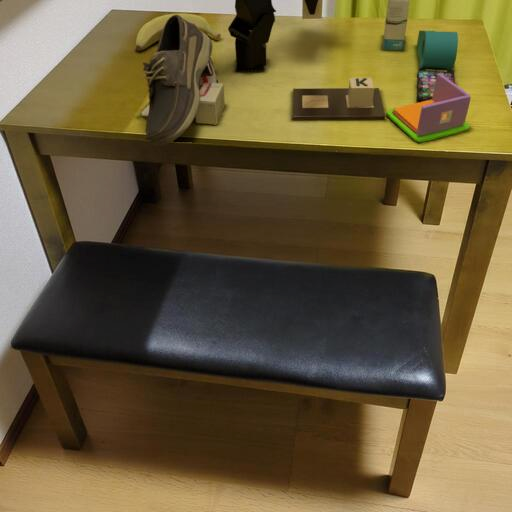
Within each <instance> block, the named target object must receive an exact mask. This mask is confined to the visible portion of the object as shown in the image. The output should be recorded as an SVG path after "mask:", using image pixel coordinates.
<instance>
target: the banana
mask: <svg viewBox="0 0 512 512" xmlns="http://www.w3.org/2000/svg"><path fill="white" fill-rule="evenodd" d="M173 15H179V16H181V17H182V18H183V19H184V20H186V21H187V22H190V23H193V24H195V25H196V27H197V28H198V29H199V30H200V31H201V32H203V33H205V34H206V35H209V36H210V37H212V38H214V40H215V41H219V40H220V39H221V33H219V32H216V31H213V29H212V28H211V26H210V24H209V22H208V20H207V19H206V18H204V17H202V16H200V15H198V14H195V13H194V14H193V13H181V12H180V13H168V14H164V15H161V16H157V17H155V18H152V19H151V20H149V21H147V22H146V23H145V24H144V25H143V26H141V28H140V30H139V31H138V32H137V35H136V38H135V48H136V50H137V51H144V50H146V49H147V48H149V47H150V46H152V45H153V44H155V43H156V42H159V41H160V38H161V34H162V31H163V28H164V26H165V24H166V22H167V20H168V19H169V18H170V17H171V16H173Z"/></svg>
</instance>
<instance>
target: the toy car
mask: <svg viewBox="0 0 512 512" xmlns="http://www.w3.org/2000/svg"><path fill="white" fill-rule="evenodd" d="M214 66H215V65H214V63H213V61H212V56H211V57H210V59H209V62H208V64H207V66H206V67H205V69H204V70H203V72H202V74H201V76H200V79H199V91H200V89H201V87H202V85H203V83H219V81H218V79H217V75H216V72H215V67H214Z"/></svg>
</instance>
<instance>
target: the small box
mask: <svg viewBox="0 0 512 512" xmlns="http://www.w3.org/2000/svg"><path fill="white" fill-rule="evenodd" d="M224 87H225V86H224V83H219V82H218V83H203V85H202V87H201V89H200V106H199V109H198V111H197V114H196V116H195V117H194V119H195V123H196V124H201V125H202V124H204V125H213V126H216V125H217V123H218V122H219V119H220V117H221V114H222V113H223V110H224V108H225V106H226V102H225V100H226V99H225V89H224Z"/></svg>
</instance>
